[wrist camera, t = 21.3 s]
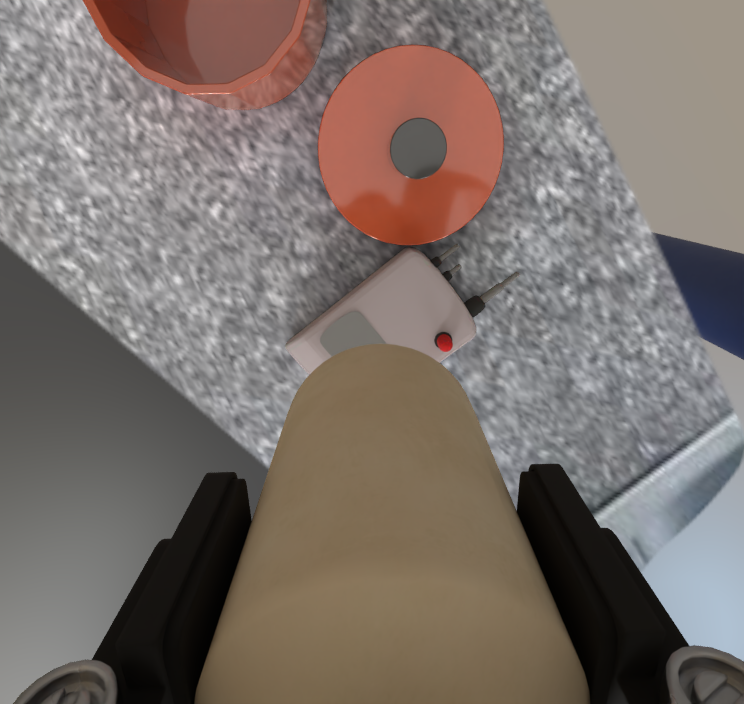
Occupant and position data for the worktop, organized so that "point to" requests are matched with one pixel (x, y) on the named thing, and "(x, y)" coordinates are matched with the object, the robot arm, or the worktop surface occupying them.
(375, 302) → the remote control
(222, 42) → the pot
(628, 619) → the robot arm
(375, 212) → the lid
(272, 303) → the worktop surface
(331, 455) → the candle
